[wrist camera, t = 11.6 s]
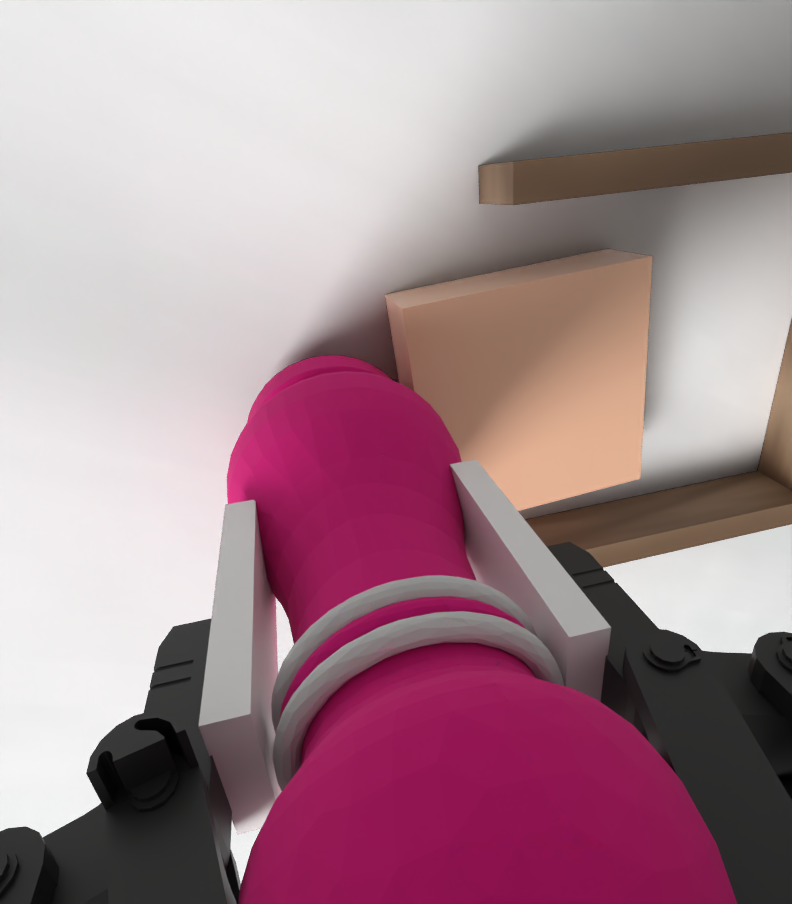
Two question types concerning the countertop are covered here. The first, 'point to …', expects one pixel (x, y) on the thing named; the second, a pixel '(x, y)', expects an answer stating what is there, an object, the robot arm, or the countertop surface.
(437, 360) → the terracotta tile
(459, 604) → the pepper mill
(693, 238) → the countertop surface
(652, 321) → the countertop surface
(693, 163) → the walnut frame
